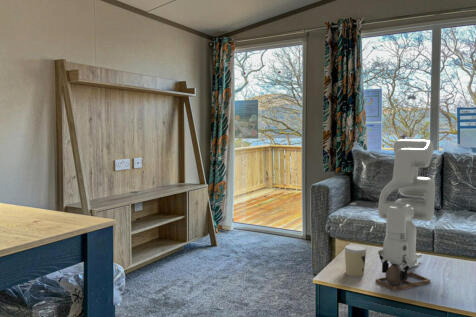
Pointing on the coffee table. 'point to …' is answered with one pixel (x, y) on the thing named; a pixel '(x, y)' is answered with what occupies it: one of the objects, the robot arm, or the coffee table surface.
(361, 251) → the coffee cup
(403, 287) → the frame
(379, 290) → the coffee table surface
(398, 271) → the vase
